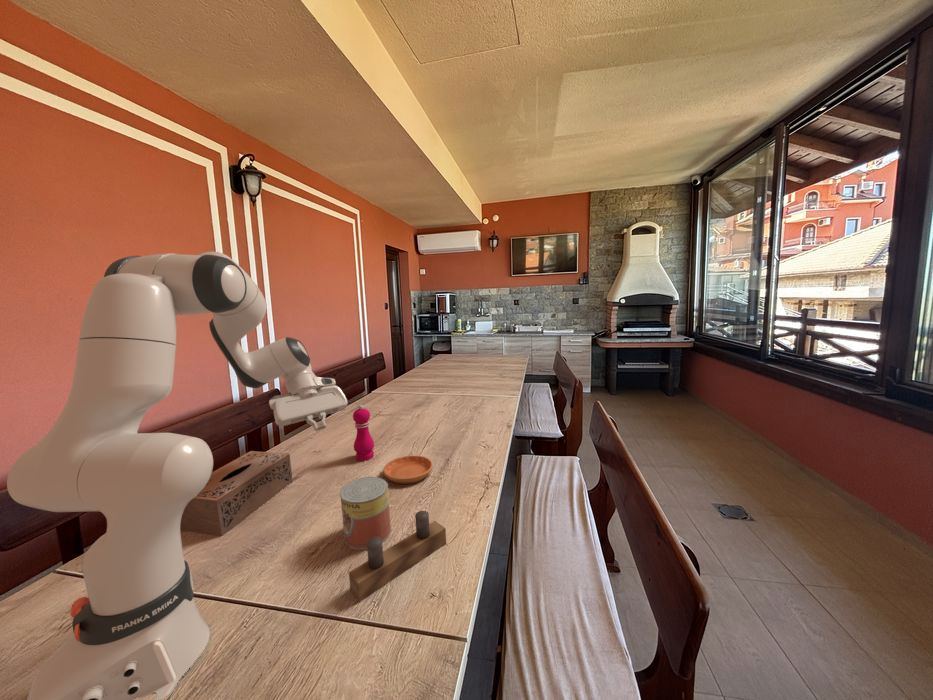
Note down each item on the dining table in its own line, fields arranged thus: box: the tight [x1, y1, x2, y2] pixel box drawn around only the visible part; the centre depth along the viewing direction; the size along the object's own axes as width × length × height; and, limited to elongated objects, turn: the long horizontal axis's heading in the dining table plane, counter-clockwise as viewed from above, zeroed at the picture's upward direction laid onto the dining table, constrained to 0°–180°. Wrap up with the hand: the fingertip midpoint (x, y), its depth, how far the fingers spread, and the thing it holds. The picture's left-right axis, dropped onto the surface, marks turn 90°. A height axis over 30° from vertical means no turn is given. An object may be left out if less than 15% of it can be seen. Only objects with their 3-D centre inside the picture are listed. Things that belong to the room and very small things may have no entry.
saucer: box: [383, 455, 433, 485], centre depth 116 cm, size 16×16×3 cm
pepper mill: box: [352, 404, 375, 462], centre depth 127 cm, size 7×7×20 cm
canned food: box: [339, 476, 392, 550], centre depth 86 cm, size 11×11×12 cm
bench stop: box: [348, 510, 447, 602], centre depth 76 cm, size 22×4×9 cm, turn 134°
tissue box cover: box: [180, 450, 294, 537], centre depth 101 cm, size 26×14×10 cm, turn 168°
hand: (320, 428), depth 101 cm, fingers closed
